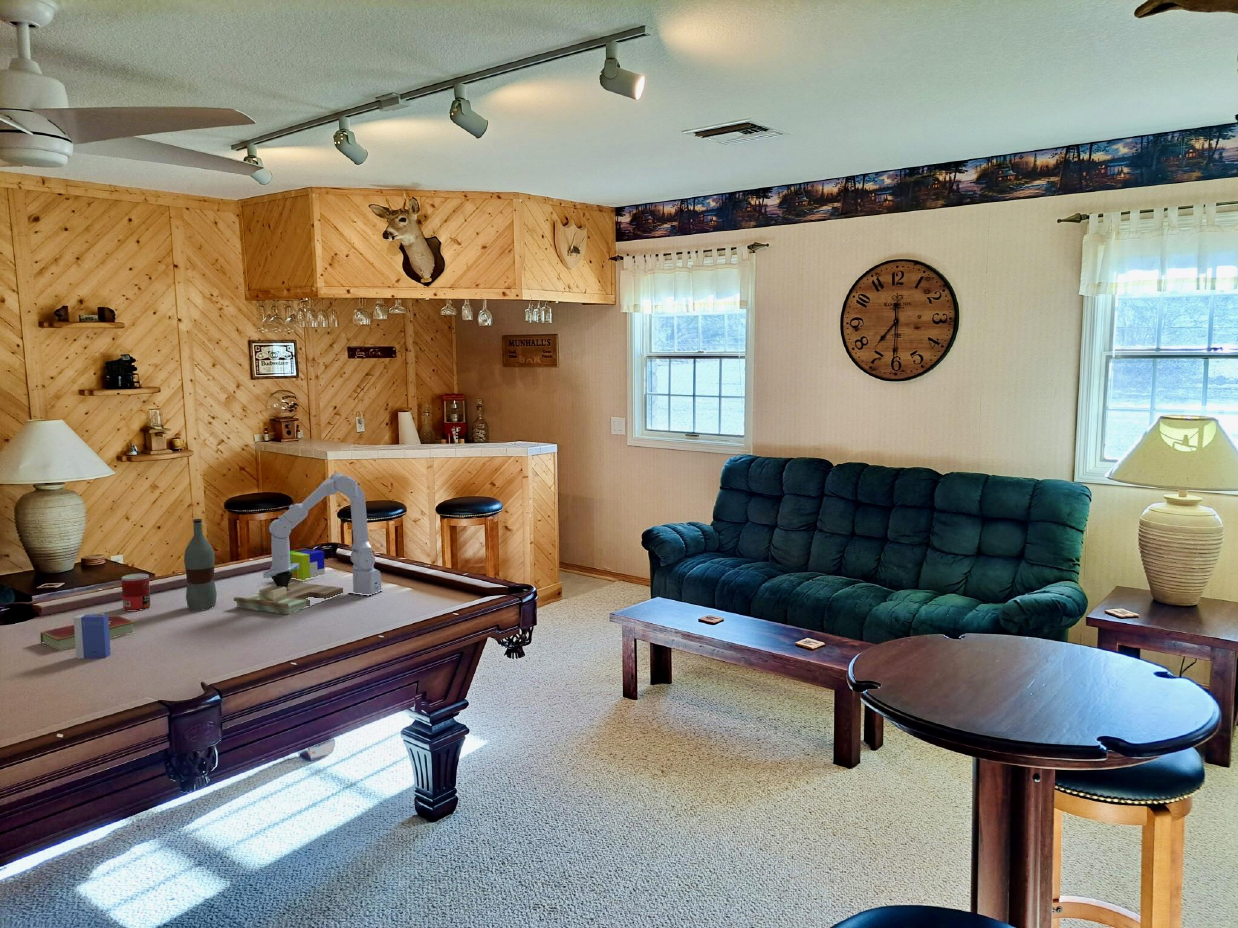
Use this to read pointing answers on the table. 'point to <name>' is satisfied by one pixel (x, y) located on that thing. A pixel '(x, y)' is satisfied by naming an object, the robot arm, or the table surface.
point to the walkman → (92, 636)
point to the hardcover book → (66, 635)
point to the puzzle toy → (307, 563)
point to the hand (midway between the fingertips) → (282, 594)
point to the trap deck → (289, 598)
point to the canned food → (136, 591)
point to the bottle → (200, 571)
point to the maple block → (273, 593)
